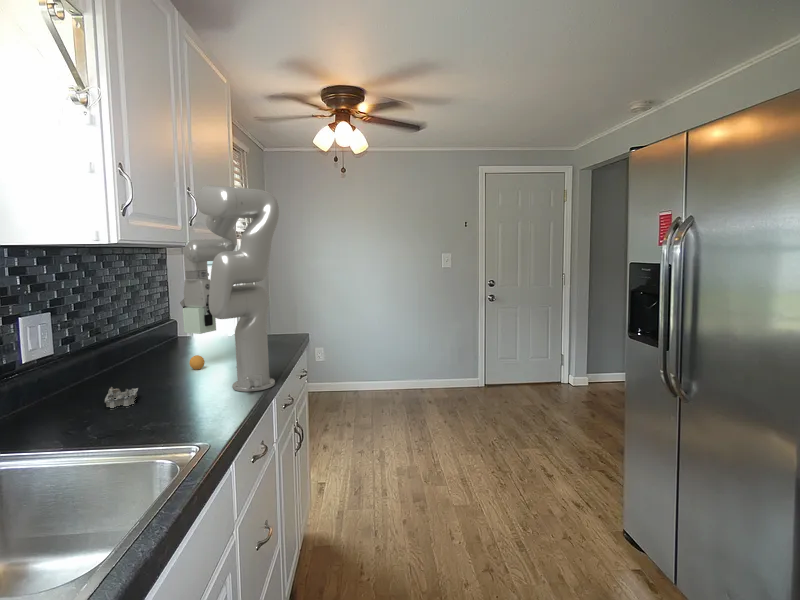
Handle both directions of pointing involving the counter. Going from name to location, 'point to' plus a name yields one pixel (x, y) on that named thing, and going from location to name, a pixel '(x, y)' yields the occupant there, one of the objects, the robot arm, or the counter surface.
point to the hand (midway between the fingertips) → (200, 324)
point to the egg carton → (120, 397)
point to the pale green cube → (196, 321)
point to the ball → (197, 362)
